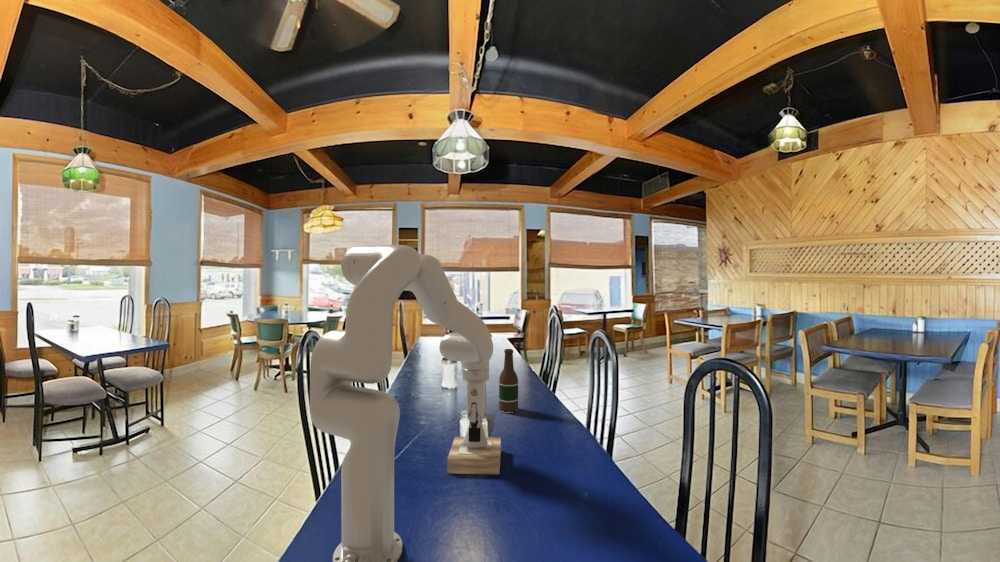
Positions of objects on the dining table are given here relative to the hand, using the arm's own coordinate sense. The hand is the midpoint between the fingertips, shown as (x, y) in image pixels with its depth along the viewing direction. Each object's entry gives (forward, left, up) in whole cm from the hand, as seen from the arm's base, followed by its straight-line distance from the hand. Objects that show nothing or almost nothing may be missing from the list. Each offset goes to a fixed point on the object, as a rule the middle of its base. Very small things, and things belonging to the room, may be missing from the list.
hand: (475, 436), depth 112 cm
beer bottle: (+42, -9, -7) cm, 44 cm away
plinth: (0, 0, -7) cm, 7 cm away
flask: (0, 0, -2) cm, 2 cm away
